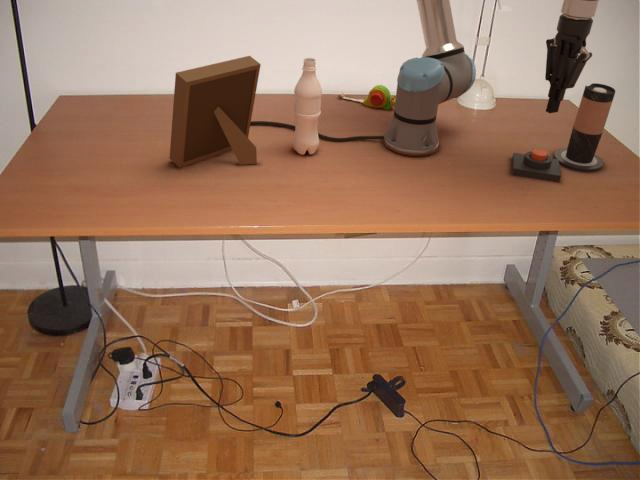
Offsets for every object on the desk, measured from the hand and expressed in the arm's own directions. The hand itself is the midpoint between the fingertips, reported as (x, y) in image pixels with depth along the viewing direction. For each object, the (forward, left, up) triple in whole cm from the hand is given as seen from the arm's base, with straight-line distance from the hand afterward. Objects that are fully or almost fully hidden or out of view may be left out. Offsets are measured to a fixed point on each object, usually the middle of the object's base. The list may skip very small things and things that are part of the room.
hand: (551, 111), depth 162 cm
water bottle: (-61, -10, -17) cm, 64 cm away
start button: (0, 0, -13) cm, 13 cm away
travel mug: (+12, +10, -16) cm, 22 cm away
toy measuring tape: (-51, +30, -17) cm, 62 cm away
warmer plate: (+12, +10, -17) cm, 23 cm away
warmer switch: (0, 0, -17) cm, 17 cm away
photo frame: (-80, -23, -17) cm, 85 cm away
